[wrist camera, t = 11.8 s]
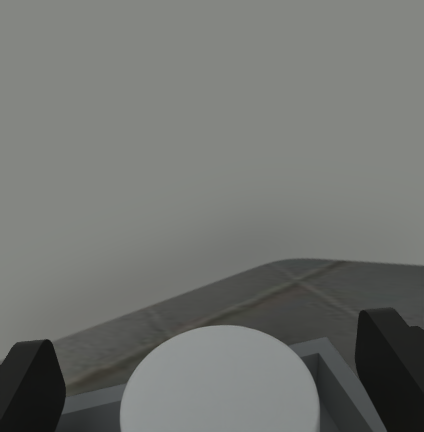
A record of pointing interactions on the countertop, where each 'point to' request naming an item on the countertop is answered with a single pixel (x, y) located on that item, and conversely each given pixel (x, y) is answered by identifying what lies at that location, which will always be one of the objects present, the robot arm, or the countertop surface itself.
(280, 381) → the supplement bottle
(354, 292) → the countertop surface
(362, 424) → the bin
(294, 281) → the countertop surface
